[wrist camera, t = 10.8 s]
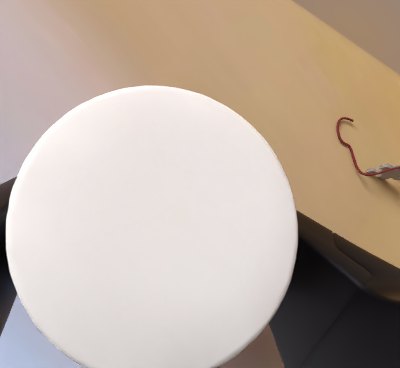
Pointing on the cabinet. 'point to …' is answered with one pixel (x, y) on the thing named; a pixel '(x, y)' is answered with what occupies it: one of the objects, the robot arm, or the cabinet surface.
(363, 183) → the cabinet surface
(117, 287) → the pill bottle
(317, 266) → the robot arm
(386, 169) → the pendant
